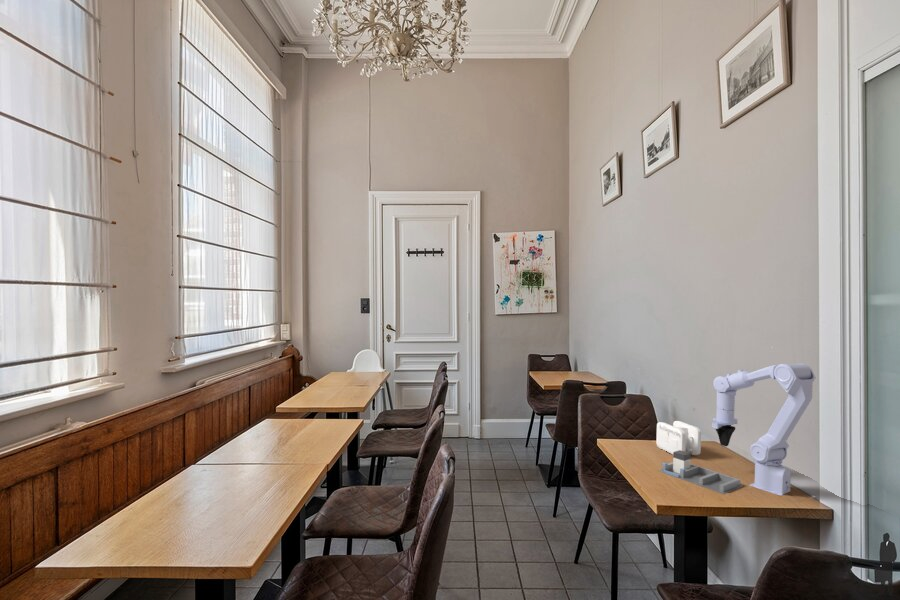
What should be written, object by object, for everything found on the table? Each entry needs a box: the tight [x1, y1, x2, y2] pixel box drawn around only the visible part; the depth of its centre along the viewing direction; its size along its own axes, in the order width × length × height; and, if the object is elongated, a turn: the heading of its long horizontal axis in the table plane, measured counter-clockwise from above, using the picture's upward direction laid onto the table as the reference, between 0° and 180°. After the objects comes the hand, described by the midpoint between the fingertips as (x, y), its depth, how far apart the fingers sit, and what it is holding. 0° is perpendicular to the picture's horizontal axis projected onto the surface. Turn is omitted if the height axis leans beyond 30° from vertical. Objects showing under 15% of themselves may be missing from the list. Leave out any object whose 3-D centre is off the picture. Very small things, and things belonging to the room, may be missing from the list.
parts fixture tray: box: [657, 461, 744, 495], centre depth 160 cm, size 23×13×3 cm, turn 33°
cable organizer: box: [656, 420, 702, 456], centre depth 188 cm, size 15×11×12 cm
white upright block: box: [672, 450, 691, 473], centre depth 165 cm, size 4×4×7 cm
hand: (724, 445), depth 169 cm, fingers closed
